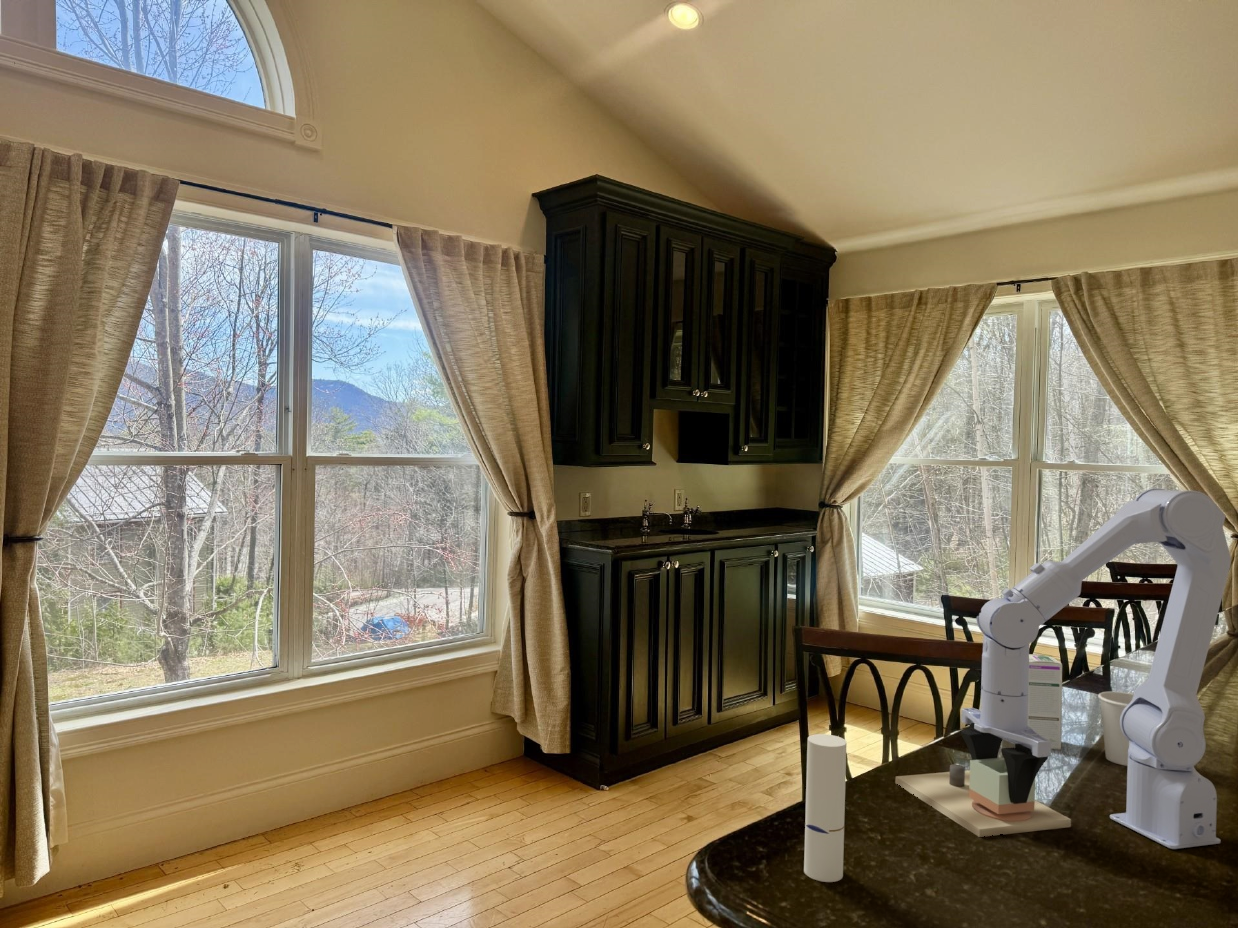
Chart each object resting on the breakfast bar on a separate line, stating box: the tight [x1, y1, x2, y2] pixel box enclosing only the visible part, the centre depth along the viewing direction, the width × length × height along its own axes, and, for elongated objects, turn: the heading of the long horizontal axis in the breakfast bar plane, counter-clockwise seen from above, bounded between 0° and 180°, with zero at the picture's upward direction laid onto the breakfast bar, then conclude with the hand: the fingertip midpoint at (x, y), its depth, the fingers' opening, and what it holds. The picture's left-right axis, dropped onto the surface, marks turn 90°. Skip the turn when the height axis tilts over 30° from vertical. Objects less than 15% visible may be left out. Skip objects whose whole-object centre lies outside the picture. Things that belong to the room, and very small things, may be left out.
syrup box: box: [1028, 653, 1063, 750], centre depth 143 cm, size 6×6×14 cm
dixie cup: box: [1097, 691, 1134, 767], centre depth 136 cm, size 8×8×10 cm
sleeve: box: [969, 756, 1036, 814], centre depth 112 cm, size 6×6×5 cm
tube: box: [803, 733, 847, 883], centre depth 96 cm, size 4×4×15 cm
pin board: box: [894, 763, 1072, 838], centre depth 117 cm, size 18×14×4 cm
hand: (1001, 792), depth 112 cm, fingers closed on sleeve, 6 cm apart
